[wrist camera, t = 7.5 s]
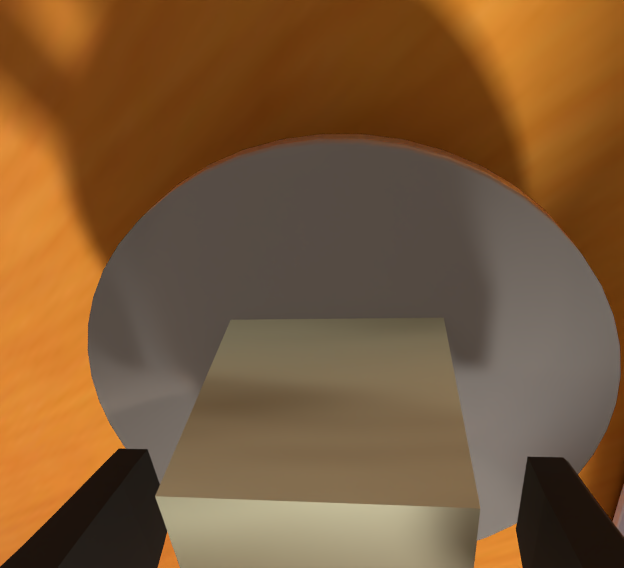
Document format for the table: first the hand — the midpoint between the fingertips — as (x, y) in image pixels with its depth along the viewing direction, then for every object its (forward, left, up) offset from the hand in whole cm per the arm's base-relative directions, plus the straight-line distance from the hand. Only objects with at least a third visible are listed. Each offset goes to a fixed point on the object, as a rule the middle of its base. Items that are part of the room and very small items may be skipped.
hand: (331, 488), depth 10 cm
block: (0, 0, -2) cm, 2 cm away
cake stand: (0, 0, -7) cm, 7 cm away
